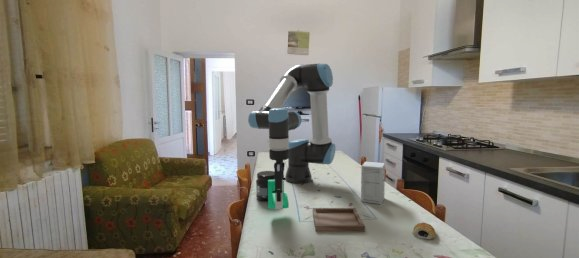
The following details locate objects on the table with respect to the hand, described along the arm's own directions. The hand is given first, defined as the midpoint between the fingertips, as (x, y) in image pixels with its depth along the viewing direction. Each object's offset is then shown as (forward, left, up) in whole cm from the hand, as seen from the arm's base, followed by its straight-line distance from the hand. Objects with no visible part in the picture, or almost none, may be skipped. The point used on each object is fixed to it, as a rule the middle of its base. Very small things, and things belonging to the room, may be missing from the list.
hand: (280, 202), depth 112 cm
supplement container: (-22, -7, -7) cm, 24 cm away
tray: (+3, +22, -6) cm, 23 cm away
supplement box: (-20, +42, -7) cm, 47 cm away
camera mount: (0, -1, -1) cm, 2 cm away
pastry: (+13, +51, -7) cm, 53 cm away
